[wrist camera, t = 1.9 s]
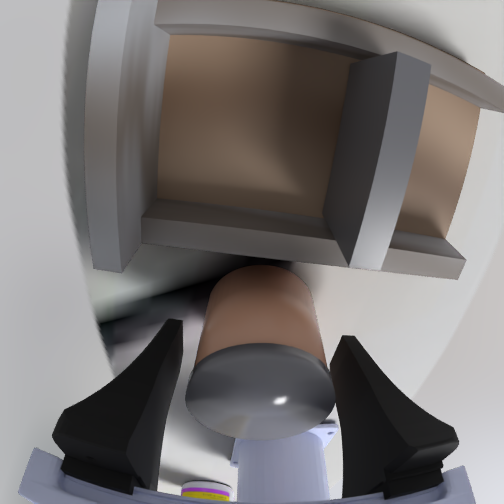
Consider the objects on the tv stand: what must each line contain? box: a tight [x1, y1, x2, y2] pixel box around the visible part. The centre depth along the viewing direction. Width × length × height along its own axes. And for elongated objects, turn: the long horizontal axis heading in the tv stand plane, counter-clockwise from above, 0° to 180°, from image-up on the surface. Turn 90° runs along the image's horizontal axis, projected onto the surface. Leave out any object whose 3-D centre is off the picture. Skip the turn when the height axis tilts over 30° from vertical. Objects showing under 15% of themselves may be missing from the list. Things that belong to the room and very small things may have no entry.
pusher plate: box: [322, 51, 431, 271], centre depth 9 cm, size 6×1×4 cm, turn 173°
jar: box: [185, 265, 336, 440], centre depth 13 cm, size 6×6×6 cm
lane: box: [84, 0, 504, 280], centre depth 9 cm, size 10×14×5 cm
